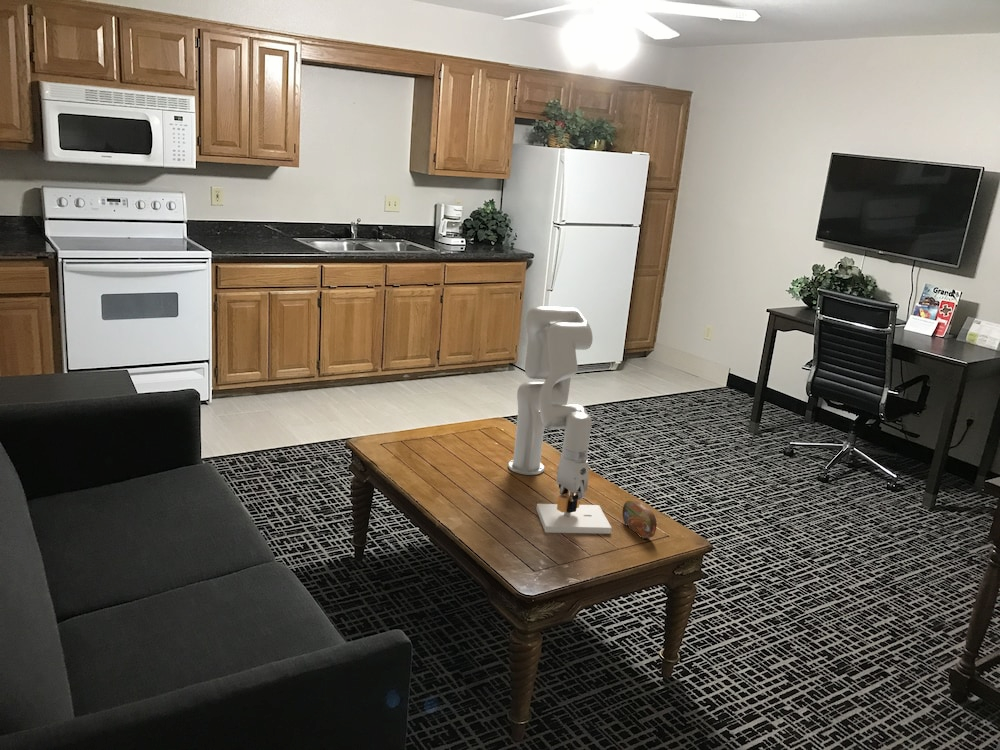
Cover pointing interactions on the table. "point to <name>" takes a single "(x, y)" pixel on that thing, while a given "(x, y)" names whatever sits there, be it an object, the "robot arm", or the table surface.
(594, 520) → the base plate
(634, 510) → the tin
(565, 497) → the orange block on post
